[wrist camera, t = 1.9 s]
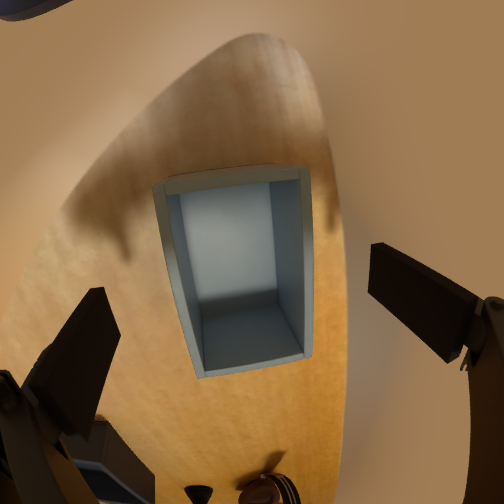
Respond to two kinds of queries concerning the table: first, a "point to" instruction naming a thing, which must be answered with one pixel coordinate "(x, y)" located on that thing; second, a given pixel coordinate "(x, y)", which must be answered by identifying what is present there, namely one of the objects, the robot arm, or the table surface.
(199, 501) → the chess piece
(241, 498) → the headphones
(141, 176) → the table surface
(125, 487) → the big bin
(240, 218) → the small bin
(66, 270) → the table surface
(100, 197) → the table surface
